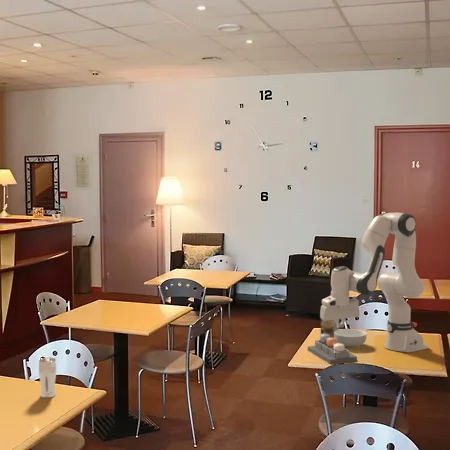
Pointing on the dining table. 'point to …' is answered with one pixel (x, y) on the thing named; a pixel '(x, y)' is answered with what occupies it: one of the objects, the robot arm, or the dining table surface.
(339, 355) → the grey slotted rack
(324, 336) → the key slate
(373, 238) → the robot arm
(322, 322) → the coffee box
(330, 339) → the key terracotta
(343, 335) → the cereal bowl
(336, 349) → the key ivory
